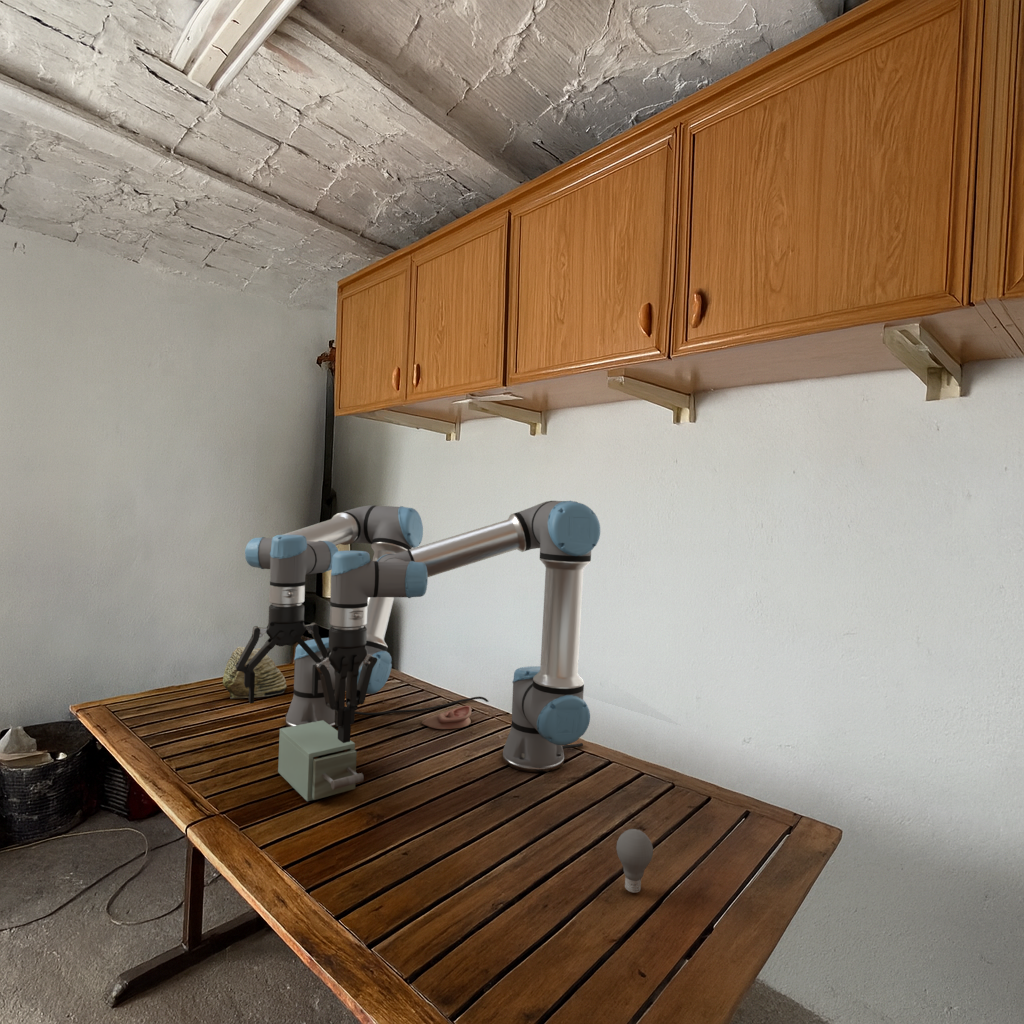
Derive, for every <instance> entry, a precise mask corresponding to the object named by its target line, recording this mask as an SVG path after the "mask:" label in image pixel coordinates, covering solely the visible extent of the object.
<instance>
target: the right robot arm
mask: <svg viewBox="0 0 1024 1024" xmlns="http://www.w3.org/2000/svg"><path fill="white" fill-rule="evenodd" d="M600 537H601V524H600V520H599V518H598V516H597V514H596V512H594V511H593V509H592V508H591V507H589V506H588V505H586V504H584V503H581V502H578V501H575V500H574V501H573V500H547V501H544V502H541V503H538V504H535V505H534V506H531V507H528V508H524V509H523V510H520V511H517V512H514V513H510V515H509V516H508V518H507V519H506V520H502V521H499V522H495V523H492V524H489V525H486V526H483V527H480V528H475V529H473V530H469V531H465V532H462V533H459V534H456V535H453V536H452V535H451V536H449V537H446V538H443V539H440V540H436V541H433V542H430V543H426V544H422V545H419V546H418V547H415V548H412V549H409V550H407V551H403V552H400V553H396V554H386V555H384V556H382V557H380V558H379V559H378V560H377V561H373V560H371V555H370V553H369V552H368V551H365V550H338V552H336V553H335V554H334V555H333V560H332V570H330V571H331V572H330V600H329V601H330V603H329V604H330V605H329V622H328V623H329V625H330V628H329V629H328V638H329V650H328V652H327V655H326V658H325V659H324V660H323V661H322V662H317V663H316V664H315V667H316V669H317V670H318V672H319V673H320V678H321V683H322V688H323V693H324V698H325V703H326V706H327V707H329V708H330V709H332V710H335V721H334V723H335V725H337V731H338V740H340V741H341V742H343V743H346V742H350V740H351V729H352V724H354V723H355V720H356V716H355V715H356V714H355V712H356V710H357V709H358V708H359V706H360V705H363V704H364V703H365V701H366V696H367V694H366V693H367V689H368V685H369V681H370V677H371V673H372V669H373V667H374V666H375V664H376V662H377V658H376V657H373V656H371V655H369V654H367V649H366V639H367V628H366V627H365V625H366V624H367V611H368V598H369V597H394V598H407V599H412V598H420V597H423V596H425V595H426V593H427V591H428V582H429V580H428V579H429V578H431V577H433V576H437V575H440V574H443V573H446V572H450V571H452V570H455V569H456V570H457V569H459V568H462V567H467V566H468V565H472V564H475V563H478V562H481V561H484V560H488V559H491V558H494V557H498V556H501V555H504V554H506V553H507V554H508V553H510V552H513V551H519V552H521V553H523V552H527V551H531V550H535V549H539V560H540V561H541V563H542V564H543V565H544V567H545V576H544V591H543V593H544V594H543V609H542V611H543V612H542V615H543V616H542V633H541V649H540V653H541V654H540V665H536V666H535V665H531V666H521V667H518V668H516V669H515V670H514V672H513V680H512V703H511V725H510V726H511V727H510V730H509V732H508V736H507V738H506V741H505V744H504V746H503V750H502V761H503V762H504V764H505V765H507V766H508V767H510V768H512V769H515V770H517V771H522V772H526V773H547V772H553V771H556V770H558V769H560V768H561V767H562V766H563V765H564V763H565V752H564V750H566V749H573V748H574V749H575V748H580V747H583V746H584V744H583V742H580V743H576V742H577V741H578V740H580V739H581V737H582V736H584V735H585V733H586V732H587V730H588V728H589V726H590V723H591V711H590V708H589V706H588V704H587V702H586V701H585V700H584V691H585V690H584V689H585V681H584V679H583V678H582V677H581V676H580V674H579V672H578V671H579V658H580V641H581V640H580V638H581V623H582V621H581V620H582V605H583V604H582V603H583V587H584V571H585V569H586V567H587V566H588V565H589V564H591V561H592V551H593V549H594V548H595V547H596V546H597V545H598V543H599V541H600ZM362 662H363V665H362V669H361V673H360V677H359V680H358V684H357V676H358V675H359V667H360V665H361V663H362ZM329 664H331V665H332V667H333V668H334V674H335V693H334V691H333V686H332V681H331V676H330V673H329V671H328V670H330V666H329ZM346 677H347V684H346ZM345 686H346V691H345ZM573 743H574V744H573Z"/></svg>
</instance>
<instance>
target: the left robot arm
mask: <svg viewBox="0 0 1024 1024" xmlns="http://www.w3.org/2000/svg"><path fill="white" fill-rule="evenodd" d="M423 536H424V526H423V520H422V517H421V515H420V513H419V512H418V510H416V509H415V508H413V507H407V506H402V505H399V506H392V505H391V506H390V505H374V504H372V505H371V504H370V505H362V506H357V507H354V508H351V509H348V510H344V511H341V512H338V513H336V514H334V515H333V516H332V517H331V518H330V519H327V520H324V521H321V522H318V523H315V524H312V525H309V526H305V527H301V528H299V529H296V530H293V531H289V532H286V533H283V534H277V535H274V536H273V537H264V536H262V537H254V538H252V539H250V540H249V541H248V542H247V543H246V546H245V550H244V558H245V560H246V563H247V564H248V565H249V566H250V567H252V568H258V569H261V570H269V571H270V572H269V573H270V577H269V579H270V581H269V592H268V593H269V597H268V602H269V603H270V605H269V606H268V619H267V620H268V621H267V626H266V627H259V626H258V625H254V626H253V627H252V631H251V632H252V633H251V636H250V638H249V640H248V642H247V643H246V646H244V647H245V649H244V651H243V653H242V655H241V656H240V658H239V660H238V662H237V664H236V666H235V667H236V669H237V671H241V672H244V685H245V687H246V688H249V698H248V702H249V704H254V703H255V697H254V687H255V673H254V671H253V669H254V668H255V667H256V666H257V665H258V664H259V662H260V661H261V660H262V659H263V658H264V657H265V656H266V654H267V655H268V653H270V651H271V650H273V649H274V647H275V646H278V647H285V646H289V647H292V646H293V647H294V645H296V644H297V645H296V647H295V652H294V653H295V654H294V658H293V660H294V672H293V695H292V696H293V697H292V699H291V702H290V704H289V708H288V711H287V712H286V713H285V716H284V718H285V726H286V727H291V726H296V725H301V724H306V723H311V722H317V721H322V720H323V721H325V722H326V723H328V724H329V725H330V726H332V727H333V728H334V729H336V728H338V726H337V725H335V723H334V721H335V710H332V709H330V708H329V707H327V706H326V703H325V698H324V693H323V688H322V683H321V678H320V673H319V672H318V670H317V669H316V667H315V664H316V663H317V662H322V661H323V660H324V659H325V658H326V655H327V652H328V650H329V637H321V635H320V632H319V630H320V629H319V625H318V624H317V623H316V622H311V623H310V624H305V605H304V602H305V600H306V599H305V597H306V596H305V595H306V575H312V574H313V575H314V574H320V573H321V574H324V573H326V572H329V571H332V560H333V555H334V554H335V553H336V552H338V551H339V548H338V547H337V546H338V545H341V546H348V545H351V544H367V545H370V547H371V549H372V550H373V557H372V561H377V560H378V559H379V558H380V557H382V556H384V555H386V554H396V553H400V552H403V551H407V550H409V549H413V548H416V547H419V546H420V545H421V543H422V541H423ZM394 601H395V597H369V598H368V611H367V624H366V625H365V627H366V628H367V639H366V649H367V654H369V655H371V656H373V657H376V658H377V662H376V664H375V666H374V667H373V669H372V673H371V677H370V681H369V685H368V689H367V693H366V695H373V694H376V693H378V692H380V691H381V689H383V688H384V686H385V685H386V683H387V682H388V680H389V678H390V675H391V671H392V666H393V664H392V662H393V660H392V659H393V658H392V656H391V654H390V652H388V644H387V643H386V641H385V638H386V632H387V629H388V625H389V621H390V617H391V612H392V608H393V604H394ZM306 631H307V632H308V634H309V635H311V636H312V638H313V639H307V640H304V639H303V638H302V637H303V635H304V634H305V633H306ZM264 634H267V636H268V638H267V640H266V641H265V643H264V644H263V645H262V646H261V647H260V648H261V649H260V650H259V651H258V652H257V653H256V654H255V656H254V657H253V658H252V659H251V660H250V661H249V662H248V664H247V665H245V664H246V662H247V660H248V658H249V657H250V655H251V653H252V651H253V649H256V646H257V644H258V642H259V640H260V638H262V637H263V636H264ZM362 665H363V662H362V663H361V665H360V667H359V675H358V676H357V684H358V680H359V677H360V673H361V669H362ZM329 666H330V670H328V671H329V673H330V676H331V681H332V686H333V691H334V693H335V674H334V668H333V667H332V665H331V664H329ZM346 684H347V677H346ZM345 692H346V686H345ZM474 700H483V701H484V702H486V703H489V702H490V700H489V699H487V698H486V697H483V696H474V697H469V698H463V699H457V700H453V701H450V702H447V703H442V704H439V705H435V706H429V707H424V708H414V709H398V710H386V711H377V712H362V711H355V715H359V716H381V715H390V714H400V713H401V714H403V713H418V712H425V711H431V710H436V709H440V708H444V707H447V706H453V705H455V704H458V703H463V702H464V703H465V702H469V701H474Z"/></svg>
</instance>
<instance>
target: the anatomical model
mask: <svg viewBox="0 0 1024 1024" xmlns="http://www.w3.org/2000/svg"><path fill="white" fill-rule="evenodd" d="M471 715H472V707H471V706H470V705H462V706H459V707H456V708H455V707H454V708H452V709H449V710H447V711H444V712H441V713H437V714H434V715H430V716H429V717H427V718H425V719H423V720H422V721H421V724H422V725H423V726H426V727H429V728H432V729H436V730H453V729H454V730H455V729H460V728H465V727H468V726H469V725H470V724H471V722H472V721H471V718H470V717H471Z"/></svg>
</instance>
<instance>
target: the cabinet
mask: <svg viewBox="0 0 1024 1024" xmlns="http://www.w3.org/2000/svg"><path fill="white" fill-rule="evenodd" d="M342 750H347V751H352V750H355V751H356V743H355V742H354V741H353V740H351V739H350V742H346V743H343V742H341V741H340V740H338V729H336V728H333V727H332V726H330V725H329V724H328V723H326V722H325V721H323V720H322V721H317V722H311V723H306V724H301V725H296V726H291V727H287V726H286V727H282V728H279V739H278V761H277V762H278V765H277V773H278V774H279V775H280V776H281V777H282V778H283V779H284V780H285V781H286V782H287V783H288V784H289V785H290V786H291V787H292V789H294V790H295V792H297V793H298V794H299V795H300V796H301V797H302V798H303V799H304V800H305V801H306V802H310V801H315V800H314V799H313V798H312V776H313V757H317V756H321V755H325V754H329V753H334V752H338V751H342Z"/></svg>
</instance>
